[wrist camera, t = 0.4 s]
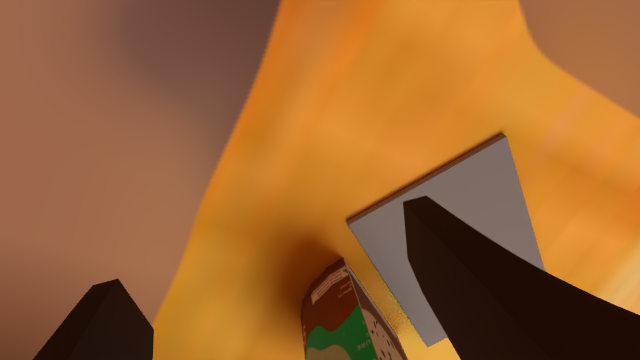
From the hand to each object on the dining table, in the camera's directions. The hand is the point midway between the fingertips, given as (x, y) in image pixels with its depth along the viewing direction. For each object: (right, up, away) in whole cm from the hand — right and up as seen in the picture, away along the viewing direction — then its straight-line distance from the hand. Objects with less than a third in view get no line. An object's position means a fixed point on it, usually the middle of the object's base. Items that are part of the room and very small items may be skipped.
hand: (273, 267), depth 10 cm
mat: (+10, -3, +16) cm, 19 cm away
